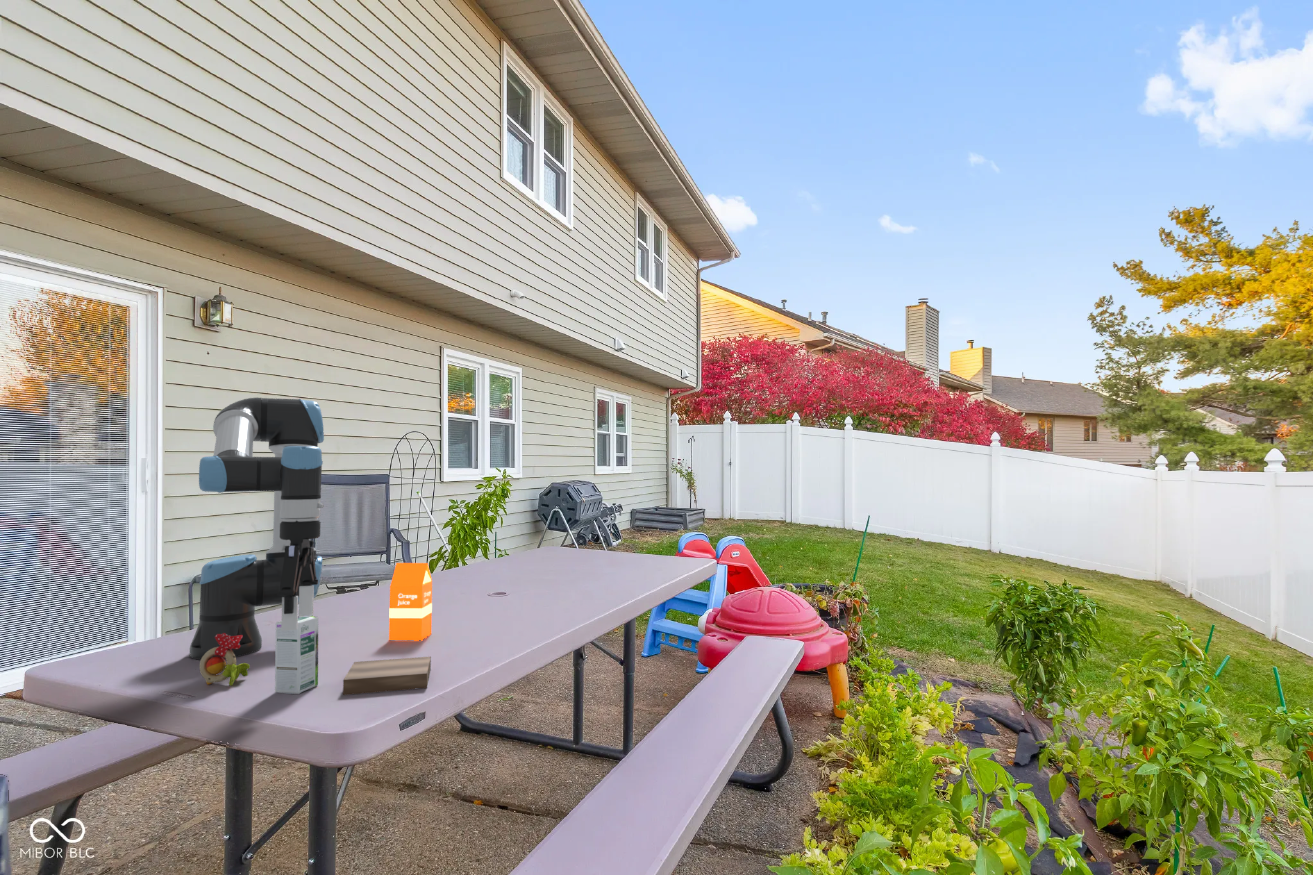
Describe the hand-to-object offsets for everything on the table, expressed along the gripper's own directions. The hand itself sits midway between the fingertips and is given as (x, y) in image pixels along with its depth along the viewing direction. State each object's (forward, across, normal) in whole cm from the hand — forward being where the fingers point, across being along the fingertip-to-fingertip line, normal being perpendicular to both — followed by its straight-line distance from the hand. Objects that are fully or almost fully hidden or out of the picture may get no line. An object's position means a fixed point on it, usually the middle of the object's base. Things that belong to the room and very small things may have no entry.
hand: (298, 622), depth 138 cm
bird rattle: (+14, +8, +16) cm, 23 cm away
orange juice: (+13, +40, -19) cm, 46 cm away
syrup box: (+14, 0, 0) cm, 14 cm away
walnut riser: (+14, 0, -18) cm, 23 cm away
